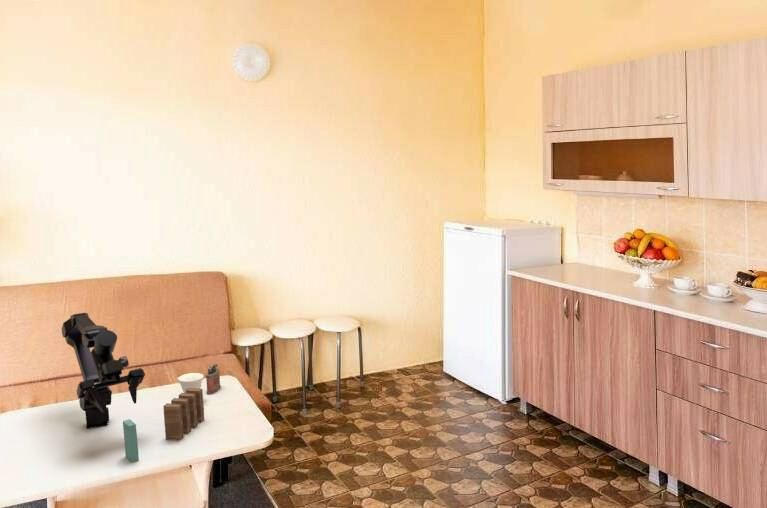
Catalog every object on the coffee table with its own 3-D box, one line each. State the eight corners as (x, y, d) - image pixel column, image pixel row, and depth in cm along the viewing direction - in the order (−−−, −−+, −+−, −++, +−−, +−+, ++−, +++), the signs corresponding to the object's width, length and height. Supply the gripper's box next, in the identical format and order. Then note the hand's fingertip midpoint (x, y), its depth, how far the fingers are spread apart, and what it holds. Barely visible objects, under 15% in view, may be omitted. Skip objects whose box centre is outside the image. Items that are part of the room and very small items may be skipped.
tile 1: (201, 422, 201) (199, 391, 200) (187, 421, 202) (185, 390, 201) (204, 420, 203) (202, 388, 202) (190, 419, 204) (188, 388, 203)
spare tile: (131, 462, 174) (128, 426, 173) (125, 456, 178) (122, 421, 176) (138, 460, 176) (135, 424, 174) (132, 454, 179) (129, 419, 178)
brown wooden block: (187, 434, 192) (185, 401, 191) (173, 433, 193) (171, 400, 192) (190, 431, 194) (188, 398, 193) (176, 430, 195) (174, 398, 194)
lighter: (212, 394, 226) (211, 369, 225) (204, 394, 227) (203, 368, 226) (222, 387, 234) (221, 362, 233) (214, 386, 235) (213, 361, 233)
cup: (178, 400, 222) (176, 373, 220) (205, 396, 224) (203, 370, 223) (178, 409, 213) (176, 381, 212) (205, 405, 216) (203, 378, 214)
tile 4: (180, 440, 188) (178, 406, 187) (165, 439, 189) (163, 405, 187) (183, 437, 190) (181, 404, 188) (169, 436, 191) (166, 403, 189)
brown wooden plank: (194, 428, 197) (192, 396, 195) (180, 427, 198) (178, 395, 196) (197, 425, 199) (195, 393, 197) (183, 424, 200) (181, 392, 198)
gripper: (75, 356, 176) (90, 402, 169) (140, 342, 188) (156, 385, 182) (70, 375, 183) (84, 421, 176) (133, 361, 195) (148, 403, 189)
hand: (119, 407), depth 181 cm, fingers open, 9 cm apart
